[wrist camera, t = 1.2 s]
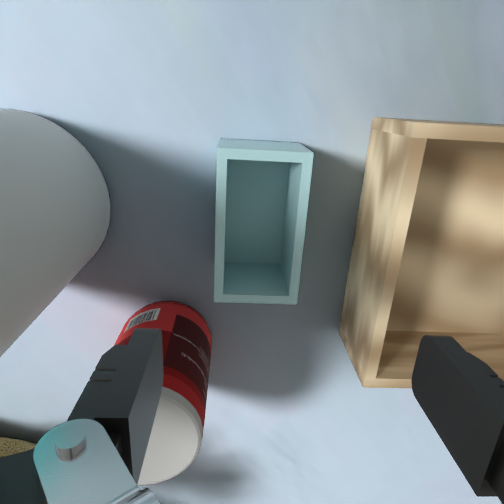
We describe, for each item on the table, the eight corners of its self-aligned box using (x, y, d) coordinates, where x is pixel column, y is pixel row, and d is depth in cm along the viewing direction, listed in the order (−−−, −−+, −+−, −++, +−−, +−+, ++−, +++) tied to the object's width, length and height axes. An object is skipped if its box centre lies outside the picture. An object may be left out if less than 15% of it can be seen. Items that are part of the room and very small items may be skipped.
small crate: (220, 138, 27) (216, 147, 22) (298, 142, 28) (313, 152, 22) (217, 266, 31) (213, 302, 25) (286, 268, 31) (296, 304, 26)
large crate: (373, 117, 27) (416, 122, 21) (612, 130, 28) (724, 139, 22) (338, 332, 34) (362, 387, 27) (533, 337, 35) (601, 391, 28)
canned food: (110, 356, 34) (55, 466, 24) (142, 283, 31) (97, 371, 21) (190, 385, 35) (171, 500, 25) (227, 317, 33) (223, 415, 23)
